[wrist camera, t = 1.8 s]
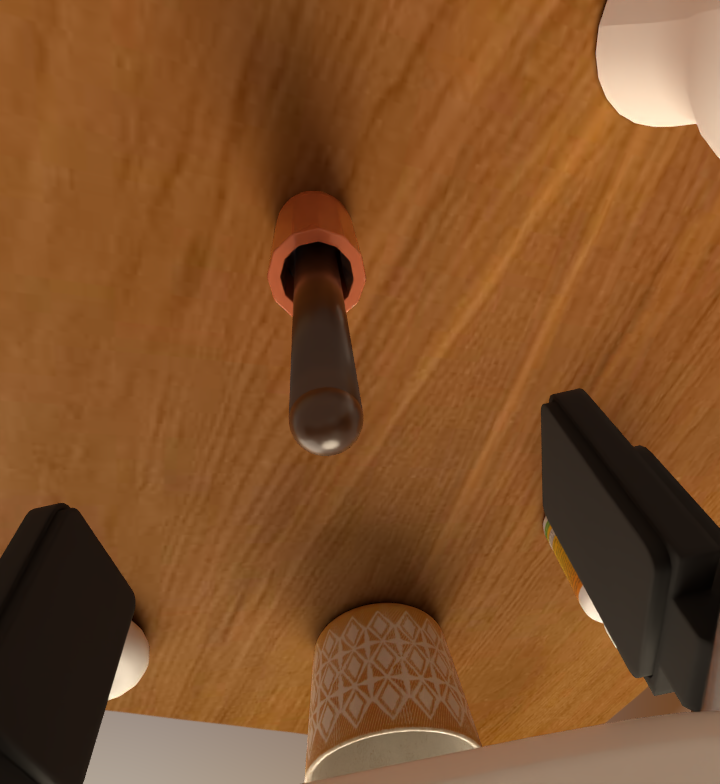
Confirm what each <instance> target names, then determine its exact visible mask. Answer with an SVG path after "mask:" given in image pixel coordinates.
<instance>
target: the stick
mask: <svg viewBox="0 0 720 784" xmlns="http://www.w3.org/2000/svg"><path fill="white" fill-rule="evenodd" d="M289 425H290V429H291V432H292V434H293V436H294V438H295V440H296V441H297V443H298V444H299V445H300V446H301V447H303V448H304V449H305V450H307V451H308V452H310V453H313V454H315V455H320V456H331V455H336V454H339V453H342V452H344V451H346V450H347V449H348V448H350V447H351V446H352V445H353V444H354V443H355V441H356V440H357V439H358V437H359V435H360V432H361V429H362V426H363V411H362V405H361V399H360V393H359V387H358V381H357V375H356V369H355V363H354V357H353V351H352V345H351V339H350V333H349V327H348V321H347V315H346V310H345V304H344V298H343V292H342V286H341V280H340V274H339V268H338V262H337V256H336V250H335V246H332V245H328V244H325V243H322V242H313V243H309V244H305V245H300V246H298V247H297V248H296V249H295V273H294V299H293V325H292V351H291V377H290V403H289Z"/></svg>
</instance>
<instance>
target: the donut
mask: <svg viewBox="0 0 720 784" xmlns="http://www.w3.org/2000/svg"><path fill="white" fill-rule="evenodd" d="M148 663H149V644H148V641H147V639H146V637H145V635H144V633H143V631H142V629H141V628H139V627H138V626H137V625H136V624H135V623H134V622H133V621H131V624H130V628H129V631H128V634H127V638H126V641H125V644H124V648H123V651H122V654H121V658H120V661H119V664H118V668H117V671H116V675H115V678H114V681H113V685H112V688H111V691H110V695H109V698H108V700H110V699H113V698H116V697H119V696H120V695H122V694H124V693H125V692H127V691H128V690H129V689H131V688H132V687H134V686H135V685H136V684H137V683H138V682H139V680H140V679H141V677H142V676H143V674H144V672H145V671H146V669H147V666H148Z"/></svg>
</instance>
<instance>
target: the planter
mask: <svg viewBox="0 0 720 784" xmlns="http://www.w3.org/2000/svg"><path fill="white" fill-rule="evenodd" d="M480 747H482V745H481V742H480V739H479V736H478V733H477V730H476V728H475V725H474V722H473V719H472V716H471V713H470V710H469V707H468V704H467V701H466V699H465V696H464V693H463V690H462V687H461V684H460V681H459V678H458V675H457V672H456V669H455V667H454V664H453V661H452V658H451V655H450V652H449V649H448V646H447V643H446V640H445V638H444V635H443V632H442V630H441V628H440V626H439V625H438V623H437V622H436V621H435V620H434V619H433V618H432V617H431V616H429V615H428V614H426V613H425V612H423V611H421V610H419V609H417V608H415V607H412V606H408V605H403V604H397V603H377V604H370V605H365V606H361V607H358V608H355V609H352V610H350V611H348V612H346V613H344V614H342V615H340V616H338V617H337V618H335V619H334V620H333V621H332V622H330V623H329V624H328V625H327V626H326V627H325V629H324V630H323V631H322V632H321V634H320V636H319V638H318V640H317V642H316V645H315V650H314V661H313V675H312V688H311V702H310V715H309V728H308V743H307V755H306V768H305V783H307V782H312V781H317V780H322V779H327V778H331V777H336V776H341V775H346V774H351V773H356V772H361V771H365V770H370V769H375V768H380V767H385V766H390V765H395V764H400V763H405V762H410V761H415V760H420V759H425V758H430V757H435V756H440V755H445V754H450V753H455V752H460V751H465V750H470V749H475V748H480Z"/></svg>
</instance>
